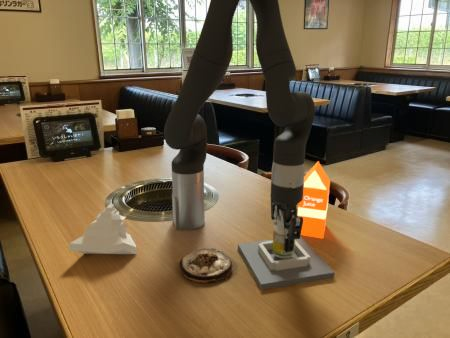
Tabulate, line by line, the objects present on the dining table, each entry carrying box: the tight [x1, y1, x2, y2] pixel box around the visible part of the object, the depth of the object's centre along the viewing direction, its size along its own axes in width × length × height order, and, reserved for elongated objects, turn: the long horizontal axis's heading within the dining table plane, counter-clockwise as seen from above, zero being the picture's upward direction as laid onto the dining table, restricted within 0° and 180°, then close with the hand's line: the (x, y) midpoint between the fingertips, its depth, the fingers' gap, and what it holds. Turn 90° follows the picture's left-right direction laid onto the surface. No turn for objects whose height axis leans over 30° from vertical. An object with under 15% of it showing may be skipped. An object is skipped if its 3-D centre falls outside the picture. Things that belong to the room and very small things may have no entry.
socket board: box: [237, 235, 335, 291], centre depth 91 cm, size 18×18×4 cm
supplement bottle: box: [272, 216, 295, 259], centre depth 90 cm, size 5×5×10 cm
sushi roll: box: [179, 248, 233, 284], centre depth 89 cm, size 15×15×4 cm
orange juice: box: [297, 161, 331, 239], centre depth 105 cm, size 8×9×20 cm
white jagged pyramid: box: [68, 202, 138, 255], centre depth 96 cm, size 12×15×14 cm
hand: (283, 244), depth 91 cm, fingers closed on supplement bottle, 5 cm apart
